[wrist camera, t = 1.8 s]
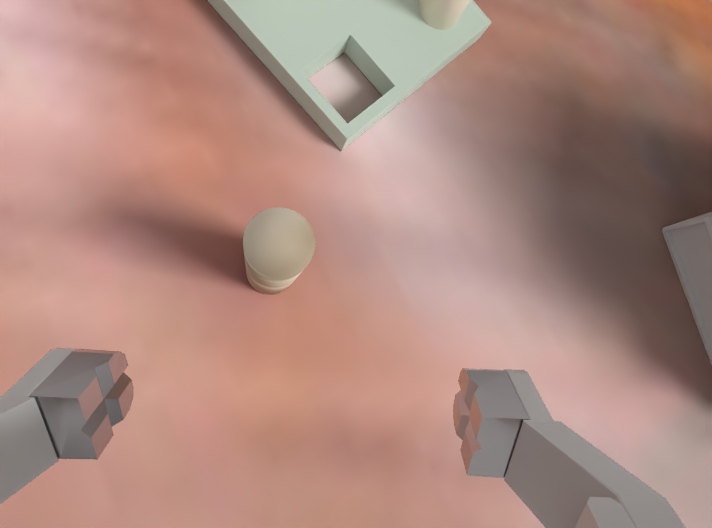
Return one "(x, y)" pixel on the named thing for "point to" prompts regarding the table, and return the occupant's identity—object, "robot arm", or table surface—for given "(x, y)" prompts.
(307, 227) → the loose leg
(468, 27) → the stool seat
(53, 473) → the table surface
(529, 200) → the table surface
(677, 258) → the book stack
